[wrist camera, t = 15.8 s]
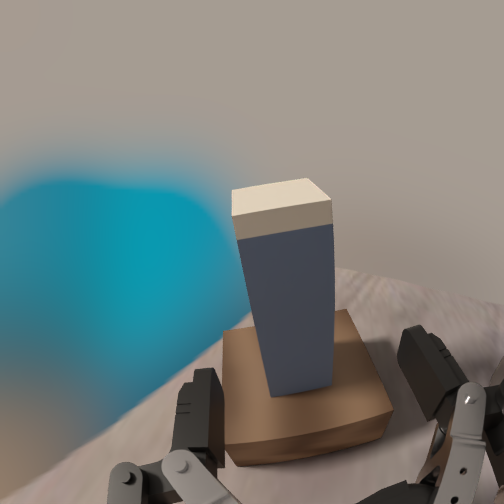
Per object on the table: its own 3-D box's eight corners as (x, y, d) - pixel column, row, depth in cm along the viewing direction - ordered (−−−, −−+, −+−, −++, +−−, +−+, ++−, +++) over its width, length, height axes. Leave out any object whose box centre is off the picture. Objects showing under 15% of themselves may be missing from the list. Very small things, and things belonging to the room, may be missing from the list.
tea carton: (317, 343, 23) (307, 177, 17) (331, 385, 19) (331, 199, 13) (264, 354, 23) (231, 190, 17) (270, 397, 19) (231, 216, 13)
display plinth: (344, 343, 29) (346, 308, 26) (380, 437, 18) (393, 409, 16) (233, 364, 29) (223, 331, 27) (236, 466, 18) (221, 444, 16)
